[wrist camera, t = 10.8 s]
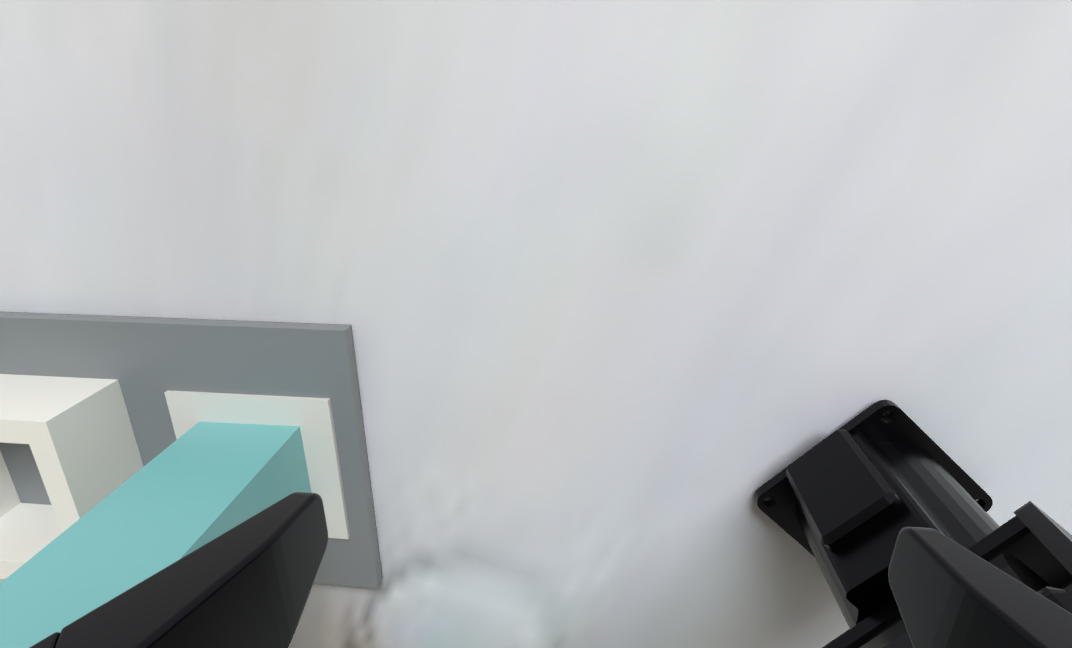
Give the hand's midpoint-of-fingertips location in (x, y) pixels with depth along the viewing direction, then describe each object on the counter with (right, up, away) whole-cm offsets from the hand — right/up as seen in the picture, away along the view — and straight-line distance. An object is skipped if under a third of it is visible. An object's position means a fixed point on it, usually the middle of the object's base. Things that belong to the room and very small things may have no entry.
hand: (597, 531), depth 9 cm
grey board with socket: (-18, -2, +17) cm, 25 cm away
